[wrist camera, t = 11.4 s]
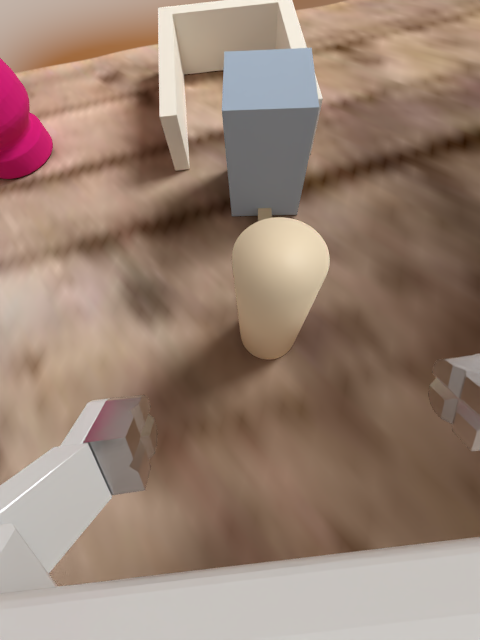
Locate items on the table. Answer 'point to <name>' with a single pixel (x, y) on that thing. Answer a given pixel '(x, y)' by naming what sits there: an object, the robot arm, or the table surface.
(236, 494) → the table surface
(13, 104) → the pepper mill
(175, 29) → the white u-shaped wall
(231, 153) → the block
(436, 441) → the table surface
